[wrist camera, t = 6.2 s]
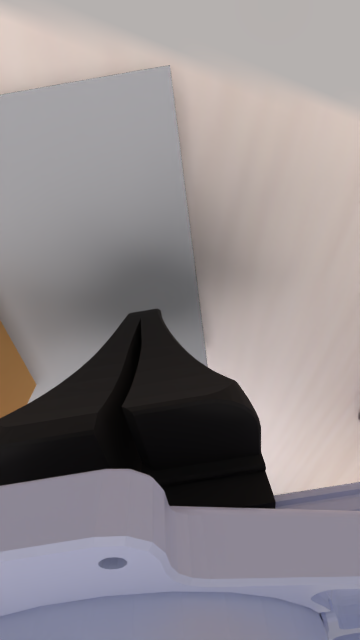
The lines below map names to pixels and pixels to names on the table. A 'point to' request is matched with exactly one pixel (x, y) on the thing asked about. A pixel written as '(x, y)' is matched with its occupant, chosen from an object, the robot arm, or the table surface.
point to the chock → (13, 377)
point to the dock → (93, 219)
